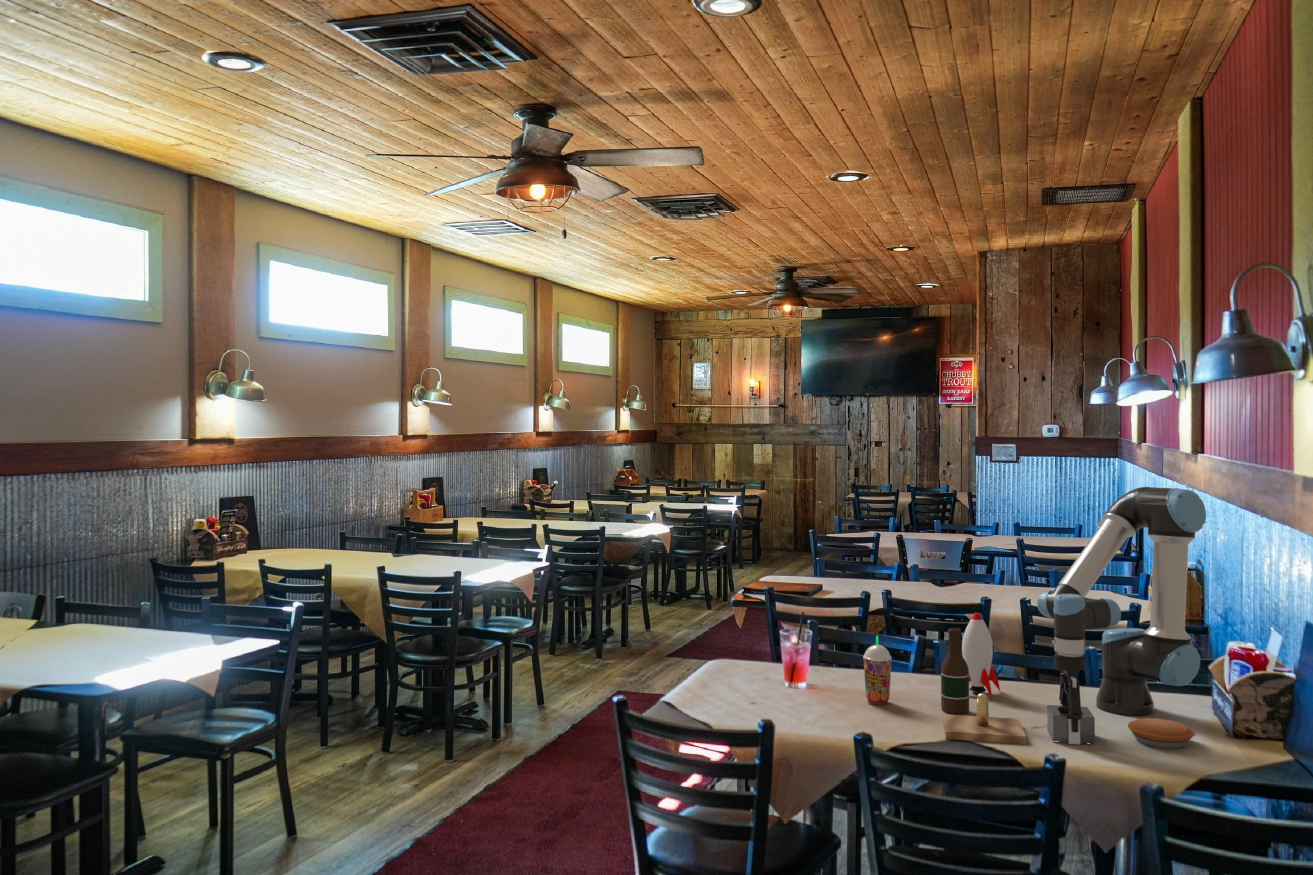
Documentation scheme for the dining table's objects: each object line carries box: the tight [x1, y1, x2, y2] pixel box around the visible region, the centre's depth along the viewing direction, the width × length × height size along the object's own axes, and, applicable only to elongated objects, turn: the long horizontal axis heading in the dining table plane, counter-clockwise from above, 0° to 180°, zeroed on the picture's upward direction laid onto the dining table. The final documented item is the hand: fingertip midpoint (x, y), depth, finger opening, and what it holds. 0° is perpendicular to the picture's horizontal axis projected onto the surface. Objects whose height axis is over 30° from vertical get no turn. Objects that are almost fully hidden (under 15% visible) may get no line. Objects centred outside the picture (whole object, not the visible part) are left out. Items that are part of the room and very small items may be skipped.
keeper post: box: [976, 692, 990, 727], centre depth 259 cm, size 3×3×8 cm
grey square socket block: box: [1046, 704, 1096, 745], centre depth 254 cm, size 10×10×7 cm
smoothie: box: [862, 635, 893, 706], centre depth 289 cm, size 8×8×20 cm
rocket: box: [961, 612, 1001, 700], centre depth 299 cm, size 11×11×25 cm
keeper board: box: [942, 713, 1027, 745], centre depth 259 cm, size 20×16×2 cm
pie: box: [1127, 717, 1196, 750], centre depth 250 cm, size 15×16×5 cm
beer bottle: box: [940, 627, 970, 715], centre depth 279 cm, size 8×8×24 cm
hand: (1070, 736), depth 254 cm, fingers open, 11 cm apart
